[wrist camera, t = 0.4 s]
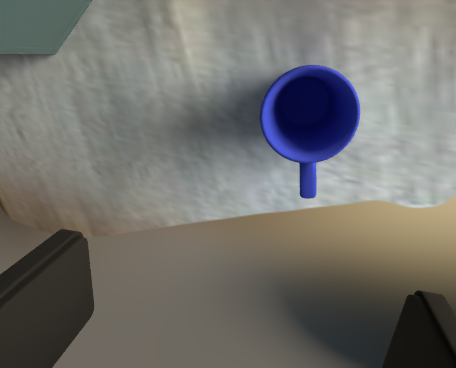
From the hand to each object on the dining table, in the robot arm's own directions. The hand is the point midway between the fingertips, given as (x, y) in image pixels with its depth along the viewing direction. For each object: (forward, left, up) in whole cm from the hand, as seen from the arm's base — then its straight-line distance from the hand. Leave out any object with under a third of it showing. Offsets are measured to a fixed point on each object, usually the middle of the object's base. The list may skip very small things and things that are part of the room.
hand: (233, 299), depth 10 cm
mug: (-2, +2, -31) cm, 31 cm away
